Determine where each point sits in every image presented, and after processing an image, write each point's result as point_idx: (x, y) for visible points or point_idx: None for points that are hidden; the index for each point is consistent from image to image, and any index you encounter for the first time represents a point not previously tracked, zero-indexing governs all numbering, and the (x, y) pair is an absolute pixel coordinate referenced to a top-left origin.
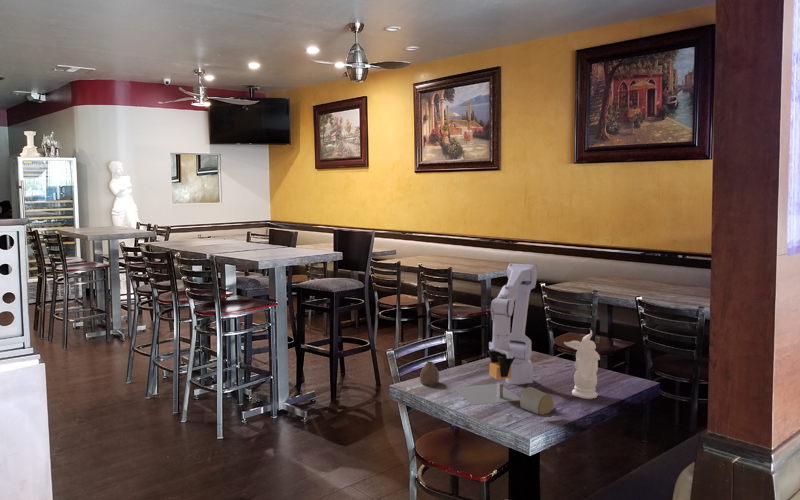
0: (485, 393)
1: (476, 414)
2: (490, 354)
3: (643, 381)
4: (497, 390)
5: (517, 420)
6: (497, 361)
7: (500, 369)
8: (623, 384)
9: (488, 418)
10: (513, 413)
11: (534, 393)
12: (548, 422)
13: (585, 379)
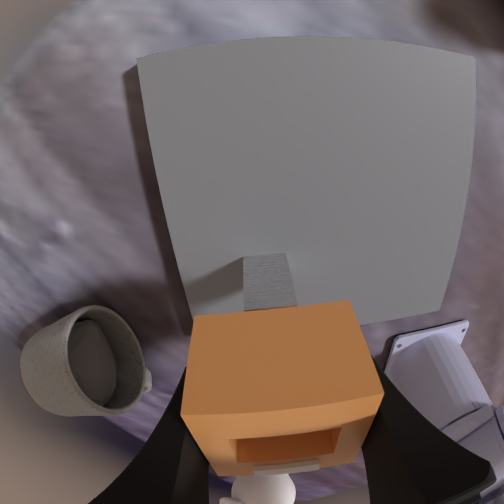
0: (339, 203)
1: (56, 73)
2: (415, 489)
3: (310, 498)
4: (276, 274)
5: (11, 246)
6: (371, 444)
7: (176, 417)
8: (306, 488)
9: (13, 129)
10: (75, 257)
11: (43, 388)
12: (24, 330)
13: (223, 500)
